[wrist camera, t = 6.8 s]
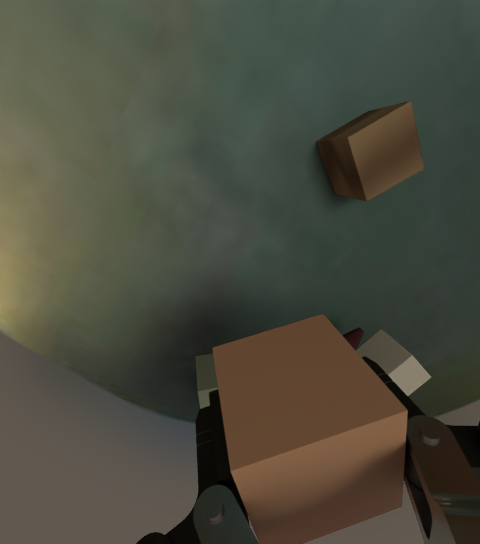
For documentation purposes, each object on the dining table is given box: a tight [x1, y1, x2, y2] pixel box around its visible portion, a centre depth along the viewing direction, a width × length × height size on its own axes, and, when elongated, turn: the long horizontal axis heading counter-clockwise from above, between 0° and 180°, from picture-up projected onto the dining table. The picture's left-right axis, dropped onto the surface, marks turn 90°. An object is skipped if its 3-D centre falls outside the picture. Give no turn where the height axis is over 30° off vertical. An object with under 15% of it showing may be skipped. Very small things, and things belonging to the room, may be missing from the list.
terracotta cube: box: [212, 314, 408, 544], centre depth 11 cm, size 5×5×5 cm
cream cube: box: [356, 329, 431, 396], centre depth 32 cm, size 5×5×5 cm
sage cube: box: [195, 353, 218, 409], centre depth 29 cm, size 5×5×5 cm
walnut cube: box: [316, 101, 424, 201], centre depth 22 cm, size 5×5×5 cm
